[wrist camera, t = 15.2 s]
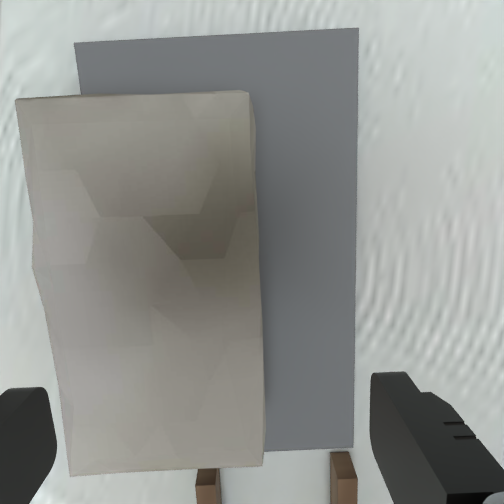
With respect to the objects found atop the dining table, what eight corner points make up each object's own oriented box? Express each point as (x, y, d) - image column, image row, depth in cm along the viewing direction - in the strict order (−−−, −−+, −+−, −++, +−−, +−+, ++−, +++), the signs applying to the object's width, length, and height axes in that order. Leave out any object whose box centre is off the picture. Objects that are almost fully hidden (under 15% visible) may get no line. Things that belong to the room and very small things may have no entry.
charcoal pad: (354, 32, 20) (358, 27, 19) (350, 438, 25) (353, 447, 25) (80, 47, 20) (73, 42, 19) (136, 448, 25) (132, 457, 25)
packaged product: (253, 104, 20) (59, 110, 20) (256, 84, 15) (2, 92, 15) (262, 413, 24) (99, 421, 24) (268, 474, 19) (64, 484, 19)
